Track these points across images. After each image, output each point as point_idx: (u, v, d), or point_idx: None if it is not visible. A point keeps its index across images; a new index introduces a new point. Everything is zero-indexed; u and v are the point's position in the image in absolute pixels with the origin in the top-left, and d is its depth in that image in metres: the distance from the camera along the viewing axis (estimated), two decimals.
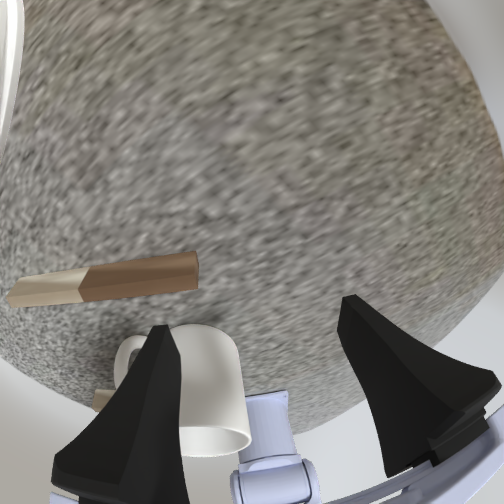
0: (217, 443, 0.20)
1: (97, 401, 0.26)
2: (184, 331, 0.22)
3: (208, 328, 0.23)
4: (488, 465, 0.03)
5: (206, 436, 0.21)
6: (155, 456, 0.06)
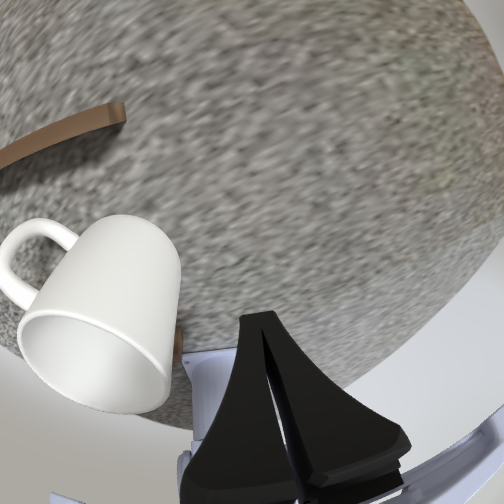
0: (135, 394, 0.13)
1: None
2: (106, 219, 0.16)
3: (137, 218, 0.17)
4: (488, 465, 0.03)
5: (123, 383, 0.14)
6: None
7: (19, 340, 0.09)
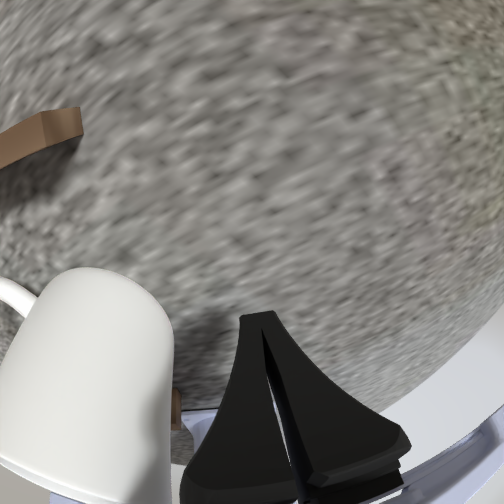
0: None
1: None
2: (67, 276, 0.11)
3: (109, 274, 0.11)
4: (488, 465, 0.03)
5: None
6: None
7: None
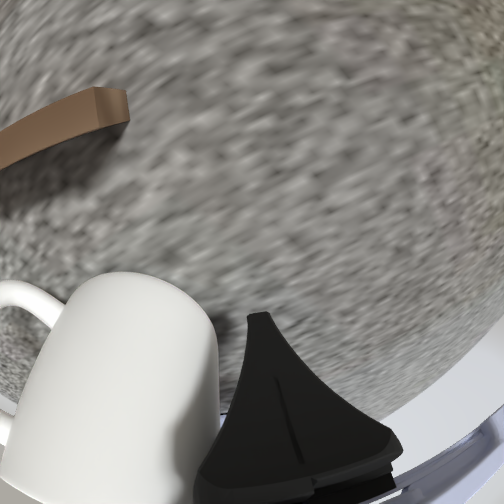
0: None
1: None
2: (102, 282, 0.10)
3: (151, 281, 0.11)
4: (488, 465, 0.03)
5: None
6: None
7: None
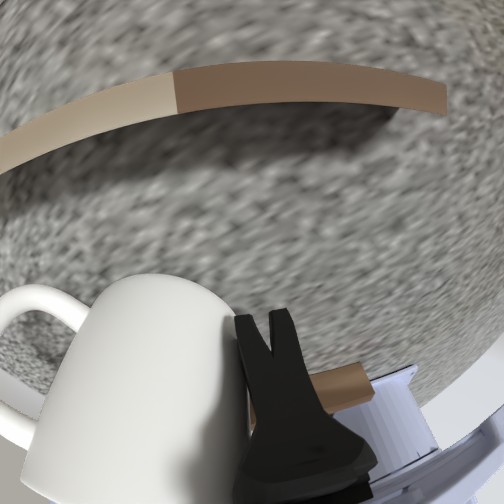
0: None
1: None
2: (128, 284, 0.10)
3: (179, 282, 0.11)
4: (488, 465, 0.03)
5: None
6: None
7: None
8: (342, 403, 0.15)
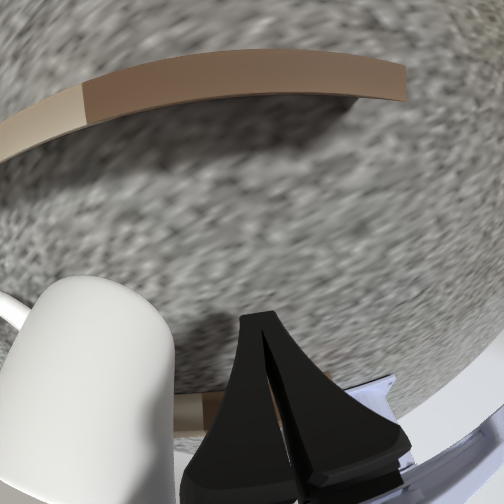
0: None
1: None
2: (59, 286, 0.10)
3: (101, 283, 0.11)
4: (488, 465, 0.03)
5: None
6: None
7: None
8: None
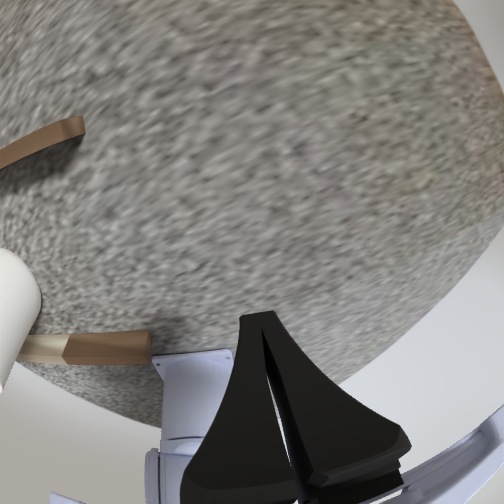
0: None
1: None
2: None
3: (1, 250, 0.16)
4: (488, 465, 0.03)
5: None
6: None
7: None
8: (117, 356, 0.20)
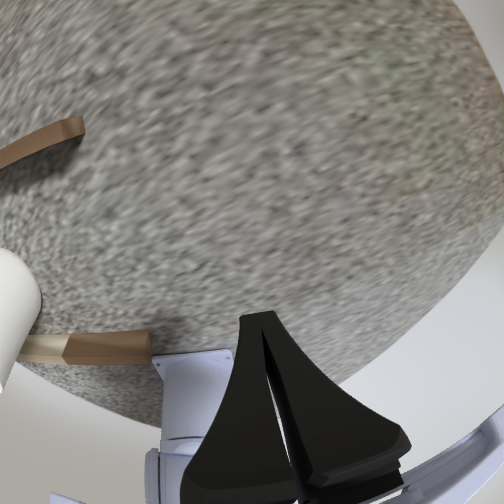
0: None
1: None
2: None
3: (2, 250, 0.16)
4: (488, 465, 0.03)
5: None
6: None
7: None
8: (117, 356, 0.20)
